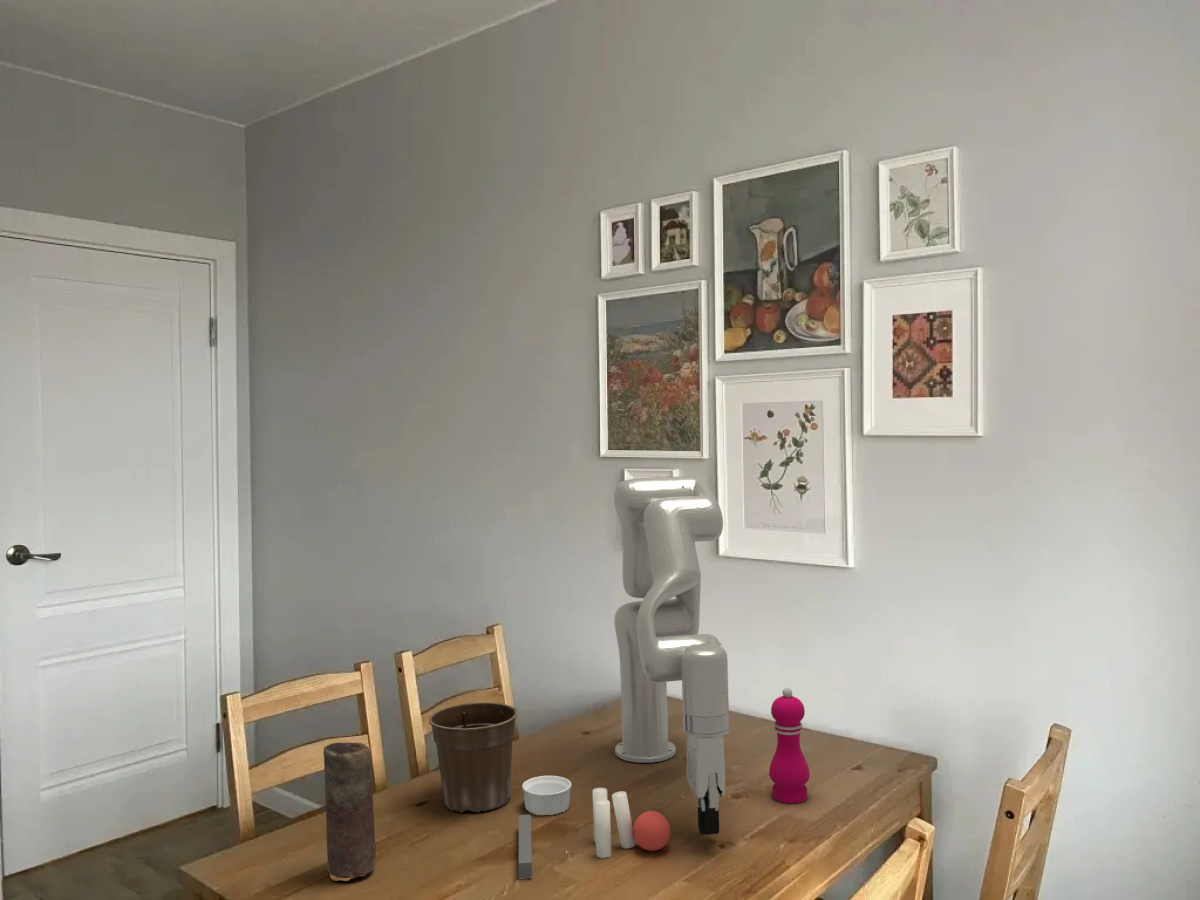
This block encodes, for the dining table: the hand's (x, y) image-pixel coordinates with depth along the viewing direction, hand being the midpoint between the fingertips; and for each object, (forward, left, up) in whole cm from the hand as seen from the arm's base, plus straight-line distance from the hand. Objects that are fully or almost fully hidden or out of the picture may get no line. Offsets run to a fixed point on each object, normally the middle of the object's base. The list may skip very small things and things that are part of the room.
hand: (708, 832), depth 159 cm
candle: (+3, -57, -2) cm, 57 cm away
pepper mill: (-16, +18, -2) cm, 24 cm away
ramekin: (-18, -26, -2) cm, 32 cm away
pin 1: (-2, -17, -2) cm, 18 cm away
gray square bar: (0, -30, -2) cm, 30 cm away
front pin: (0, -13, -1) cm, 13 cm away
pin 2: (+3, -17, -2) cm, 18 cm away
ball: (+2, -10, +2) cm, 10 cm away
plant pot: (-23, -39, -2) cm, 45 cm away
